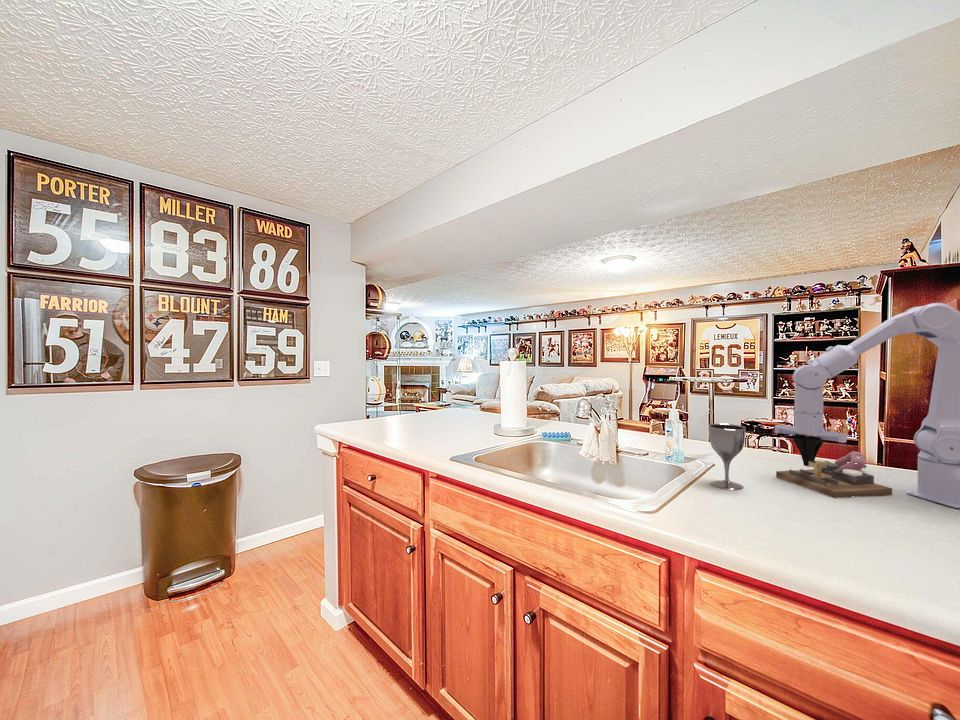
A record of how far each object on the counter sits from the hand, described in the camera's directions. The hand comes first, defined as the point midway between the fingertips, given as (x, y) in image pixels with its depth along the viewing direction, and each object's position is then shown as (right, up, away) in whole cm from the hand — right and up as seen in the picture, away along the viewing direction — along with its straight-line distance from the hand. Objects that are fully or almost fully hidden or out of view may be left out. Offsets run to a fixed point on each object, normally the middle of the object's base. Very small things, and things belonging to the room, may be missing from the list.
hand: (808, 465), depth 103 cm
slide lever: (0, -3, -2) cm, 4 cm away
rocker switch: (+8, -1, +3) cm, 9 cm away
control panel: (+4, -5, -1) cm, 6 cm away
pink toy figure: (+19, -4, +9) cm, 22 cm away
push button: (+8, -3, -3) cm, 9 cm away
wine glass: (-21, -5, 0) cm, 22 cm away
